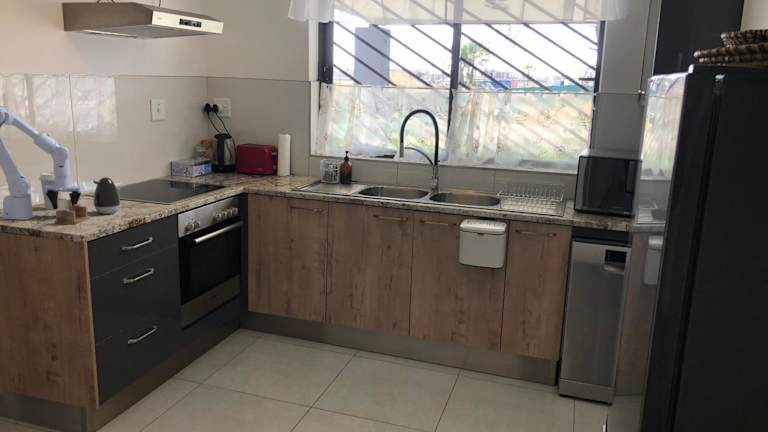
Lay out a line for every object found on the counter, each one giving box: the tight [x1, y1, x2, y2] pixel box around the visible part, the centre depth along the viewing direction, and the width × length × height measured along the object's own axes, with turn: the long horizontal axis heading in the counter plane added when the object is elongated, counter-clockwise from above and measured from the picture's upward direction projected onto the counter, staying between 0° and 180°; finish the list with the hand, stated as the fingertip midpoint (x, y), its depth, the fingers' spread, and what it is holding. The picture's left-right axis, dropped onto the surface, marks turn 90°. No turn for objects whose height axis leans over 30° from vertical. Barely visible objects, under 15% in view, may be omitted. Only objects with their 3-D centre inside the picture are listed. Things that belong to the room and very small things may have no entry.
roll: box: [57, 197, 72, 211], centre depth 245 cm, size 5×5×7 cm
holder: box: [54, 204, 90, 226], centre depth 237 cm, size 8×11×6 cm
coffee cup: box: [38, 171, 64, 211], centre depth 257 cm, size 10×10×15 cm
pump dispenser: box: [92, 176, 121, 215], centre depth 252 cm, size 10×10×15 cm
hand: (65, 209), depth 245 cm, fingers open, 7 cm apart
